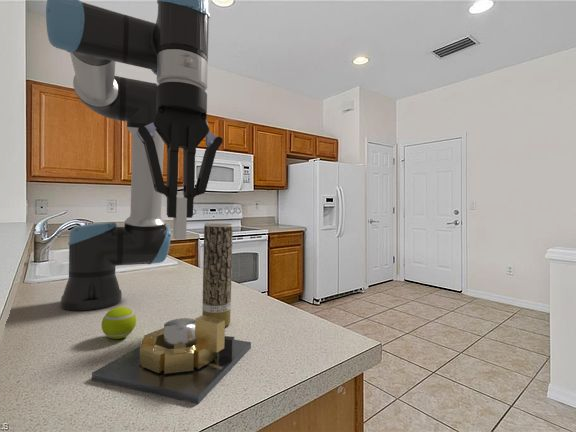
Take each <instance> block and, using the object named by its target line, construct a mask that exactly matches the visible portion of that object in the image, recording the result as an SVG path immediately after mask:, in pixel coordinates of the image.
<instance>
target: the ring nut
mask: <svg viewBox="0 0 576 432" xmlns="http://www.w3.org/2000/svg"><path fill="white" fill-rule="evenodd" d="M194 320H195V345H194V346H192V347H187V348H185V344H178V345H174V349H167V348H164V327H162V328H160V329H157V330H155V331H152V332H150V333H147V334H144V336H143V338H142V341H141V343H140V345H139V346H140V364H141V366H142V367H145V368H147V369H150V370H152V371H155V372H157V373H161V372H163V371H164V374H167V373H176V372H185V371H193V367H194V368H197V369H199V368H201V367H203V366H204V365H206V364H208V363H209V362H211V361H213V360H214V359H216V358H217V356H218V352H219V351H220V350H222V349H224V340H225V336H226V329H225V328H226V327H225V320H221V319H217V318H213V317H209V316H205V315H203V316H202V315H200V316H198V317H195V319H194Z"/></svg>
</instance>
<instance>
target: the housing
mask: <svg viewBox="0 0 576 432" xmlns="http://www.w3.org/2000/svg"><path fill="white" fill-rule="evenodd" d="M163 328H164V348H167V349H174V345H178V344H185V348H187V347H192V346H194V345H195V319H194V318H189V317H188V318H185V317H183V318H176V319H171V320H169V321H166V322H165V323H164V325H163ZM251 348H252V341H246V340H240V339H235V336H227V335H225V340H224V349H222V350H220V351H219V352H218V356H217V358H216V359H214V360H213V361H211V362H209V363H208V364H206V365H204V366H203V367H201V368H199V369H197V368H194V367H193V371H185V372H176V373H167V374H164V371H163V372H161V373H157V372H155V371H152V370H150V369H147V368H145V367H142V366H141V364H140V345H139V346H137V347H135V348H134V349H131V350H130V351H128V352H126V353H124V354H123V355H121V356H119V357H117V358H115V359H114V360H112V361H110V362H109V363H107V364H105V365H104V366H101V367H100V368H98V369H96V370H94V371H93V372H92V373H91V381H96V382H99V383H103V384H109V385H114V386H119V387H122V388H127V389H131V390H136V391H140V392H144V393H149V394H153V395H158V396H162V397H166V398H171V399H175V400H181V401H185V402H188V403H195V404H198V405H199V404H200V403H201V402H202V401H203V399H205V398H206V396H208V394H209V393H211V392H212V390H213V389H214V388H215V387H216V386H217V385H218V384H219V383H220V381H222V379H224V377H225V376H226V375H227V374H228V373H229V372H230V371H231V370H232V369H233V368H234V366H236V364H237V363H239V361H240V360H241V359H242V358H243V357H244V356H245V355H246V354H247V353H248V352H249V350H251Z"/></svg>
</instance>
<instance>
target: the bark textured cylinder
mask: <svg viewBox="0 0 576 432" xmlns="http://www.w3.org/2000/svg"><path fill="white" fill-rule="evenodd" d="M233 228H234V227H233V223H230V222H229V223H227V222H226V223H225V222H208V223H207V222H205V223H204V226H203V260H202V261H203V265H202V266H203V269H202V270H203V272H202V306H201V307H202V311H201V312H202V315H201V316H203V315H205V316H209V317H213V318H217V319H221V320H225V328H226V327H228V326H229V325H230V324H231V309H232V272H233V271H232V267H233V266H232V264H233V263H232V262H233V233H234V232H233Z"/></svg>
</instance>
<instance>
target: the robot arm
mask: <svg viewBox="0 0 576 432" xmlns="http://www.w3.org/2000/svg"><path fill="white" fill-rule="evenodd" d="M156 3H157V16H156V17H157V18H156V21H155V22H152V21H149V20H145V19H141V18H137V17H134V16H130V15H127V14H123V13H119V12H117V11H114V10H111V9H107V8H104V7H101V6H97V5H93V4H90V3H87V2H83V1H81V0H46V5H45V24H46V25H45V26H46V32H47V38H48V41H49V44H50V45H52V47H54V48H56V49H58V50H63V51H66V52H67V53H69V54H70V58H71V62H72V66H73V67H72V68H73V71H74V76H73V81H72V83H73V84H72V85H73V90H74V93H75V94H76V96H77V97H78V99H79V101H81V102H82V104H84V105H85V106H86V107H87V108H88V109H90V110H92V111H93V112H95V113H96V114H98V115H100V116H102V117H105V118H107V119H111V120H114V121H115V120H116V121H121V122H126V129H127V131H129V133H130V134H131V135H132V141H131V143H132V144H131V145H132V146H131V148H132V149H131V175H130V176H131V179H130V180H131V184H130V187H131V188H130V215H129V217H127V218H126V219H125V220H124V226H118V225H117V223H116V222H115V221H108V222H99V223H90V224H89V223H88V224H81V225H77V226H73V227H72V228H71V229H70V231H69V237H68V238H69V239H68V242H67V245H68V278H67V279H68V280H67V282H66V285H65V287H64V291H63V294H62V296H61V298H60V308H61V309H63V310H67V311H89V310H90V311H91V310H99V309H103V308H104V309H105V308H108V307H112V306H114V305H117V304H119V303H120V302H122V296H123V295H122V290H121V289H120V285H119V281H118V278H117V275H116V266H117V267H118V266H119V267H120V266H133V265H136V266H137V265H152V264H160V263H163V262H164V261H165V260H166V259H167V258H168V255H169V251H170V246H171V235H172V238H173V239H174V240H177V241H178V240H179V241H180V240H182V241H183V240H187V221H188V218H190V219H191V218H193V216H194V199H195V197H197V196H199V195H203V194H205V193H206V191H207V188H208V183H209V181H210V180H209V179H210V177H211V172H212V168H213V165H214V162H215V161H214V160H215V157H216V153H217V151H218V149H219V148H220V147H221V145H222V144H223V141H224V140H223V138H222V137H221V136H216V135H215V134H214V133H212V132H211V131H210V126H209V125H210V124H209V122H208V119H207V115H208V114H207V113H208V111H207V110H208V94H207V92H206V90H208V60H209V33H210V32H209V29H210V26H209V25H210V18H211V14H210V5H209V0H157V1H156ZM116 62H117V63H121V64H126V65H130V66H134V67H138V68H139V67H140V68H143V69H147V70H150V71H151V72H152V73H153V74H154V75H155V76H156V82H157V83H156V82H148V81H144V80H139V79H133V78H128V77H123V76H119V75H115V74H116V73H115V72H116ZM204 139H205V143H204V144H205V146H206V148H205V149H204V150H205V151H204V152H203V153H204V154H203V157H202V162H201V165H200V169H199V173H198V176H197V179H195V177H196V175H195V174H196V153H197V147H198V146H199V145H200V144H201V143H202V141H203V140H204ZM165 145H166V155H167V157H166V162H167V163H166V185H165V181H164V177H163V174H164V173H163V172H164V171H163V170H164V151H165V147H164V146H165ZM180 149H183V151H182V152H183V189H182V191H183V193H182V194H183V197H178V196H177V195H178V187H179V186H178V184H179V182H178V178H179V177H178V176H179V151H180ZM195 182H196V184H195ZM162 195H163V196H165V197H166V216H167V218H170V219H171V218H172V219H173V221H172V222H173V224H172V230H173V231H171V228H170V227H169V226H167V225H166V224H167V222H166V220H165V219H164V218H163V217H162V198H163V196H162Z"/></svg>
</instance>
